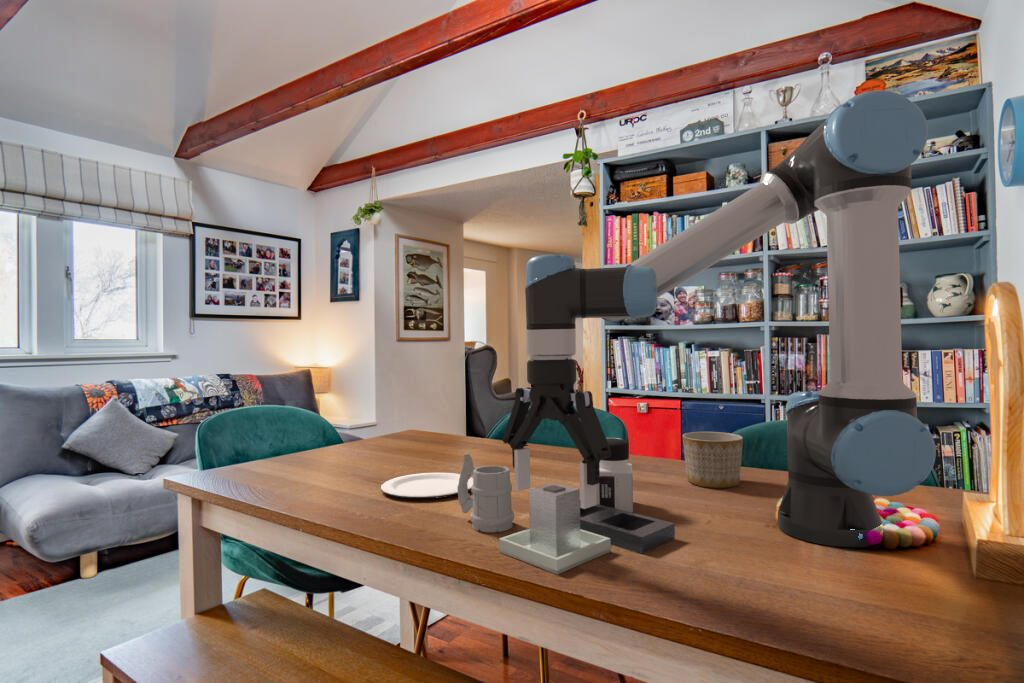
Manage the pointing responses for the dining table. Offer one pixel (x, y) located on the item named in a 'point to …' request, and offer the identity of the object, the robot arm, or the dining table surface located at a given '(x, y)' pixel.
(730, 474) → the planter
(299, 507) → the dining table surface
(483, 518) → the mug
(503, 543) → the tray
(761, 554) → the dining table surface
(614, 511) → the peg socket board
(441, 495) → the plate
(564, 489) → the tall square peg
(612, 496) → the container
